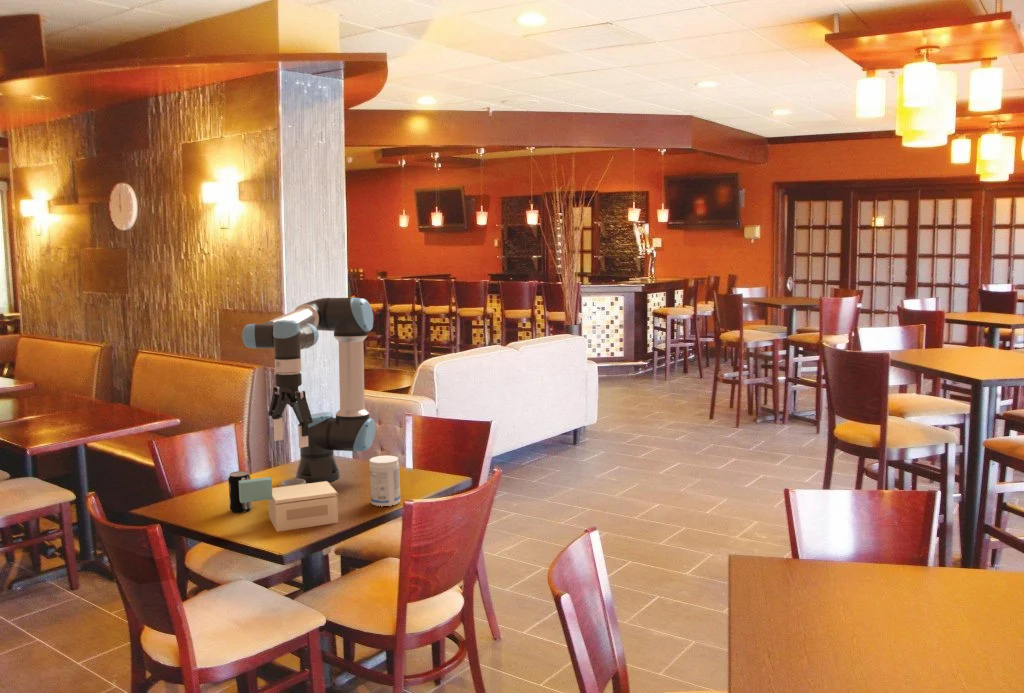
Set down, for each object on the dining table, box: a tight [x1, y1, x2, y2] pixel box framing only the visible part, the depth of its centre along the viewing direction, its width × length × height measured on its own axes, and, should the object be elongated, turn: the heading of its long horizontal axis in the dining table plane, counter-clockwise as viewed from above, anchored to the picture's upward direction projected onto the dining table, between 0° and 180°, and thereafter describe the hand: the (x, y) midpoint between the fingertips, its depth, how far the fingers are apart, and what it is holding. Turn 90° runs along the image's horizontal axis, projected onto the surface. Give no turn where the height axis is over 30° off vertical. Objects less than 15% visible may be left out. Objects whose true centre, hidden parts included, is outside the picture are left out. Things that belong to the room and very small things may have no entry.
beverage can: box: [227, 470, 253, 514], centre depth 266 cm, size 7×7×12 cm
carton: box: [267, 495, 339, 532], centre depth 256 cm, size 14×18×8 cm
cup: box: [280, 478, 307, 487], centre depth 267 cm, size 8×10×8 cm
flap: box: [239, 476, 339, 504], centre depth 253 cm, size 14×27×6 cm, turn 115°
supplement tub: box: [368, 455, 401, 508], centre depth 271 cm, size 10×10×15 cm
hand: (291, 443), depth 251 cm, fingers open, 13 cm apart
